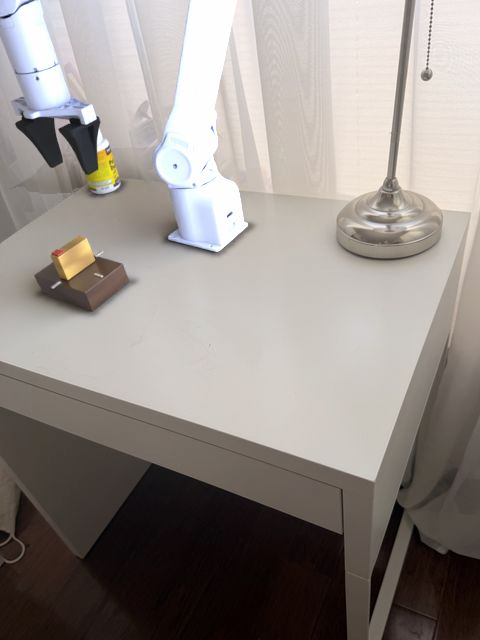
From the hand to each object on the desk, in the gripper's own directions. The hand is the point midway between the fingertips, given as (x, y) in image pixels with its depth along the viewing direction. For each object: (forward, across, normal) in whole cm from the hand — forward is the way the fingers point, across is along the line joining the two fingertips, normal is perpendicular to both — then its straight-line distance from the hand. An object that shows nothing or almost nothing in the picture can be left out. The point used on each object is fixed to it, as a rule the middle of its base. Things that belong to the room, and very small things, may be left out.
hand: (74, 168), depth 79 cm
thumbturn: (+7, +10, -12) cm, 17 cm away
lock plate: (+10, +10, -12) cm, 19 cm away
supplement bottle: (+11, -10, +12) cm, 19 cm away
